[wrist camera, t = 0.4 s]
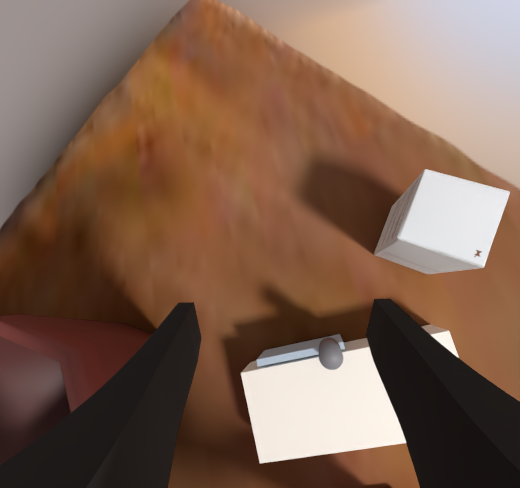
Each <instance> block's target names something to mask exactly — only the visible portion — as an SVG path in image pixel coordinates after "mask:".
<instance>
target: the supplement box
mask: <svg viewBox="0 0 520 488" xmlns="http://www.w3.org/2000/svg"><path fill="white" fill-rule="evenodd" d="M509 193H510V192H509V191H506V190H502V189H498V188H495V187H491V186H487V185H483V184H480V183H476V182H472V181H469V180H465V179H461V178H457V177H454V176H450V175H446V174H442V173H439V172H435V171H431V170H428V169H425V170H424V171H423V172H422V173H421V174H420V175H419V176H418V178H417V179H416V180H415V181H414V182H413V183H412V184H411V186H410V187H409V188H408V189H407V190H406V191H405V192H404V193H403V195H402V196H401V197H400V198H399V199H398V200H397V201H396V202H395V203H394V204H393V206H392V207H391V210H390V213H389V215H388V218H387V221H386V223H385V226H384V228H383V231H382V234H381V236H380V239H379V241H378V244H377V247H376V249H375V252H374V255H376V256H378V257H381V258H384V259H386V260H389V261H392V262H394V263H397V264H400V265H403V266H406V267H408V268H411V269H414V270H417V271H420V272H422V273H425V274H435V273H443V272H451V271H460V270H468V269H477V268H484V266H485V263H486V260H487V257H488V254H489V251H490V248H491V245H492V242H493V239H494V236H495V234H496V231H497V228H498V225H499V222H500V220H501V217H502V214H503V211H504V208H505V205H506V203H507V200H508V197H509Z"/></svg>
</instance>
